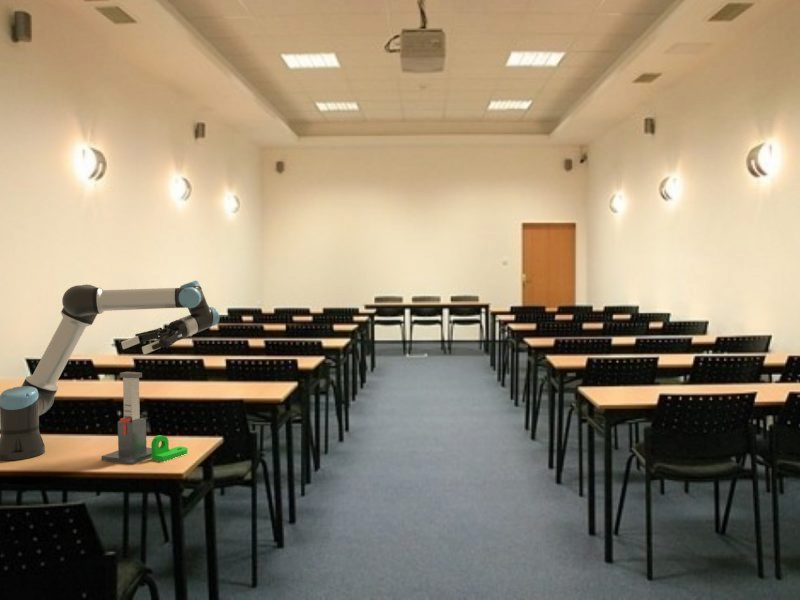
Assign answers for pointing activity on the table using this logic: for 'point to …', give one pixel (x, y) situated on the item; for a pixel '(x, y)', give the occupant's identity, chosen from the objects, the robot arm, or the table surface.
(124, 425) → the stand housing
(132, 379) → the column
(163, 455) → the mechanical part
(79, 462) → the table surface
